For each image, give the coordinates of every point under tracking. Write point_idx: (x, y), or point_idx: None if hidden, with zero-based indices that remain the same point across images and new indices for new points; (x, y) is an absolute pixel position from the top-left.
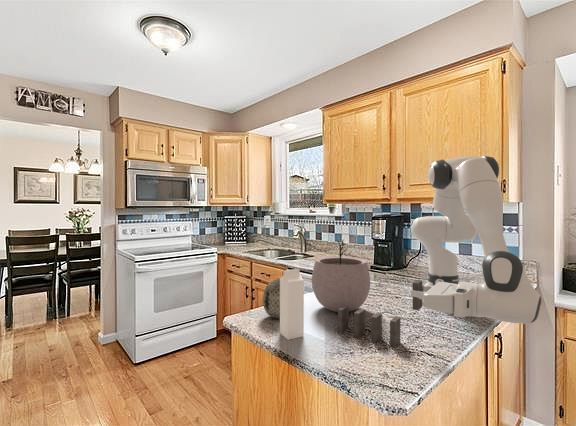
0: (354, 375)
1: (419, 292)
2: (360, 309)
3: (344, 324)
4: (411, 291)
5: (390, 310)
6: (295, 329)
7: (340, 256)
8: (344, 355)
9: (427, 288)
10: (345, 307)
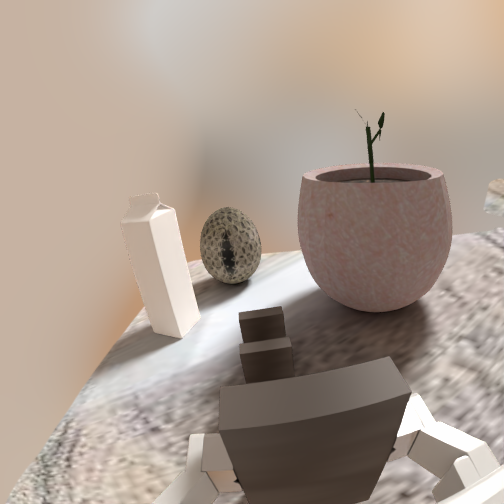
0: (63, 460)
1: (167, 492)
2: (282, 339)
3: None
4: (193, 437)
5: (487, 335)
6: (161, 320)
7: (370, 159)
8: (134, 423)
9: (442, 454)
10: (266, 314)
